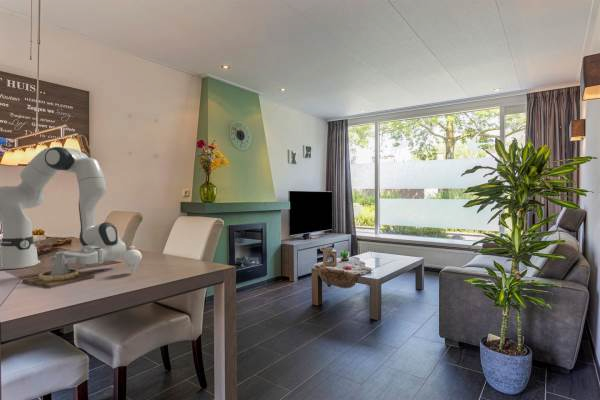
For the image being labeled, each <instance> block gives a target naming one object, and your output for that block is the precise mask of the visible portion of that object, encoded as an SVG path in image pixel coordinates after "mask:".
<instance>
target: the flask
mask: <svg viewBox="0 0 600 400" xmlns="http://www.w3.org/2000/svg"><path fill="white" fill-rule="evenodd" d="M58 252H59V253H57V252H56V253H54V254H55V255H54V256H56V261H54V265H53V267H52V269H51V270H52V272H51V274H50V276H55V275H64V274H68V273H71V272H70V270H69V269H70V268H69V266H68V263H67V264H64V263H63V259H65V258H64V254H65V252H63V251H58Z"/></svg>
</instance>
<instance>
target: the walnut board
mask: <svg viewBox="0 0 600 400" xmlns="http://www.w3.org/2000/svg"><path fill="white" fill-rule="evenodd" d="M91 279H95V274H91V273H85V272H84V273H83V272H79V276H77V277H75V278H71V279H66V280H60V281H39V275H38V276H34V277H28V278H23V279H22V283H24V284H29V285H35V286H39V287H42V288H49V289H51V288H56V287H61V286H66V285H69V284H70V285H71V284H73V283H78V282H82V281H86V280H91Z"/></svg>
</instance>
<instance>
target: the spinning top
mask: <svg viewBox="0 0 600 400" xmlns="http://www.w3.org/2000/svg"><path fill="white" fill-rule="evenodd" d="M135 248H136V247H135V246H134V245H132V246H129V249H128V250H126V252H125V253H124V255H123V256H122V261H123V262H124V264H125V266H126V267H127V268H128V269H129V270H130V271H131V273H132V274H134V271H135V270H136V269H137V267H138V266H139V265H140V263H141V261H142V258H143V256H142V253H141V251H139V250H138V249H135Z"/></svg>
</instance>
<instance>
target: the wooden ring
mask: <svg viewBox="0 0 600 400" xmlns="http://www.w3.org/2000/svg"><path fill="white" fill-rule="evenodd" d="M52 270H53V269H50V270H47V271H43V272H40V273H39V274H38V276H39V281H60V280H66V279H71V278H75V277H77V276H79V273H80V272H79V269H77V268H69V270H70V272H71V273H68V274H64V275H55V276H50V274H51V272H52Z"/></svg>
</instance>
